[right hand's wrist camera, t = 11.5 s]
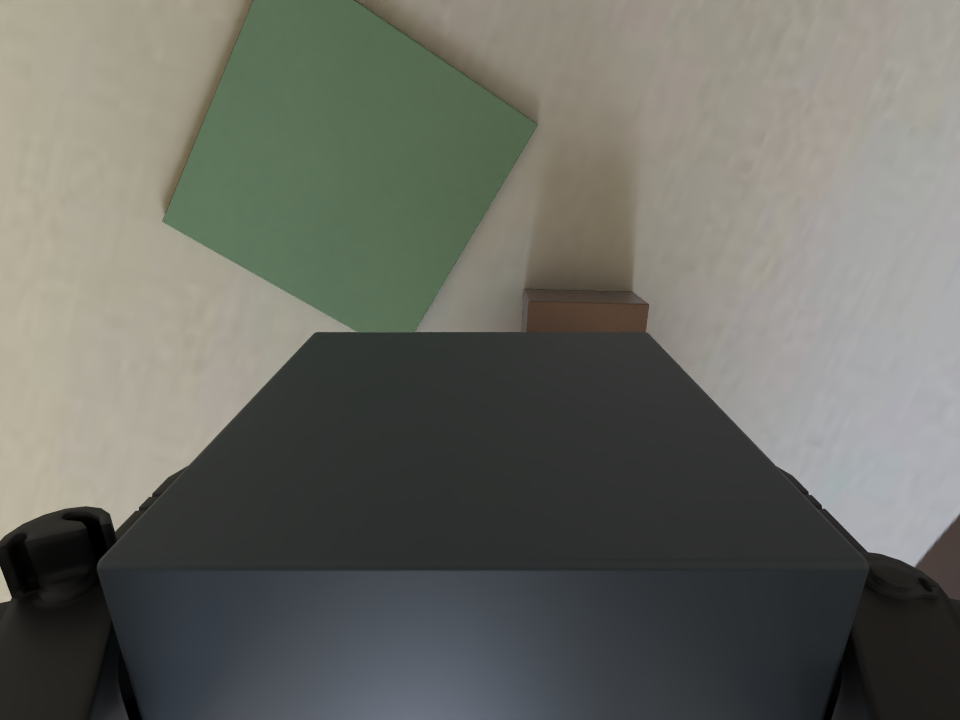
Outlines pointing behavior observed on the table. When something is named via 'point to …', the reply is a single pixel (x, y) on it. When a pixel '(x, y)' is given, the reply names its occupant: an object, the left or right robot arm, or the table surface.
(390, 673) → the slate block
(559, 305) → the base plank
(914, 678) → the right robot arm
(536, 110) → the table surface
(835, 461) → the table surface
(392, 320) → the green mat
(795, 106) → the table surface
